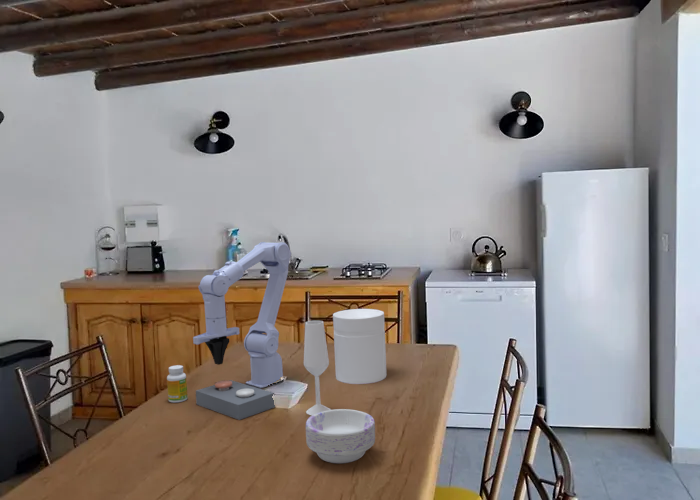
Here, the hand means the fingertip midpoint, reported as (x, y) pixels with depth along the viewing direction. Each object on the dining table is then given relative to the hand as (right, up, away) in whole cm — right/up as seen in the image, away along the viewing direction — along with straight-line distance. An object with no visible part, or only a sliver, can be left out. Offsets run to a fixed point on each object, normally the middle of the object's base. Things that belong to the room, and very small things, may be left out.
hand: (218, 363), depth 177 cm
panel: (+6, -11, -6) cm, 13 cm away
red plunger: (+2, -9, -2) cm, 9 cm away
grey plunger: (+9, -10, -9) cm, 16 cm away
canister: (+41, -7, +17) cm, 45 cm away
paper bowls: (+36, -13, -41) cm, 56 cm away
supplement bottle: (-12, -11, +2) cm, 16 cm away
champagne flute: (+29, -11, -13) cm, 34 cm away
